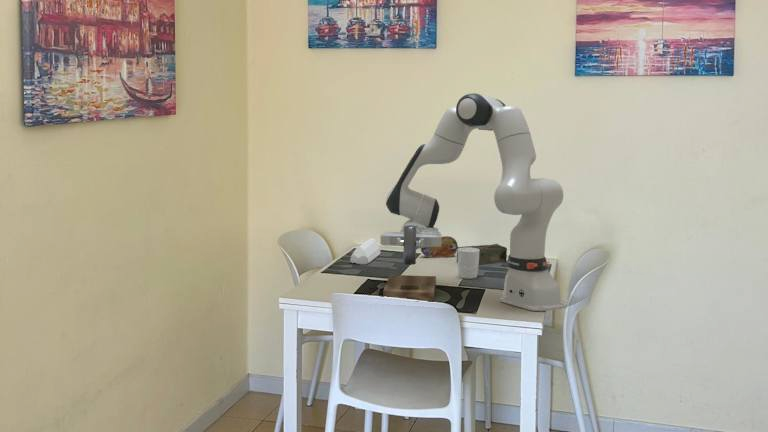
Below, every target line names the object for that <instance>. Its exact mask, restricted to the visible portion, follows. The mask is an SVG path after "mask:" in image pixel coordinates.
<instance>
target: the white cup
mask: <svg viewBox="0 0 768 432" xmlns="http://www.w3.org/2000/svg"><path fill="white" fill-rule="evenodd" d="M479 252H480V250H479V249H477V248H459V249H458V262H457V268H458V277H459V278H460V279H468V280H469V279H472V280H473V279H477V278H478V274H479V273H478V271H479V265H480V264H479Z"/></svg>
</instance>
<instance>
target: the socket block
mask: <svg viewBox="0 0 768 432" xmlns="http://www.w3.org/2000/svg"><path fill="white" fill-rule="evenodd" d="M436 286H437V276H436V275H434V276H433V275H410V274H409V275H405V274H403V275H402V274H389V276H388V279H387V281H386V283H385V285H384V288H383V291H382V292H383V293H382V297H383V296H387V297H399V298H407V299H417V300H427V301H433V302H434V299H435V293H436Z"/></svg>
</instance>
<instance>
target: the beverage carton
mask: <svg viewBox="0 0 768 432" xmlns="http://www.w3.org/2000/svg"><path fill="white" fill-rule="evenodd" d="M459 248H477V249H479V250H480V252H479V265H487V264H486V263H488V264H495V263H496V264H497V262H498V263H504V262H507V257H508V256H507V255H508V248H507V247H505V246H502V245H500V244H499V243H493V244H483V245H481V244H480V245H469V246H466V245H465V246H458V248H457V251H456V262H457V263H458V249H459Z"/></svg>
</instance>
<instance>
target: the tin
mask: <svg viewBox="0 0 768 432" xmlns="http://www.w3.org/2000/svg"><path fill="white" fill-rule="evenodd" d="M458 247H459V245H458V242H457V240H456V239H455V238H454V237H452V236H448V235H446V236H445V235H444V236H443V235H442V244H441V247H427V248H426V247H425V248H420V252H421V253H422V255H424V256H425V257H426V258H429V259H436V258H437V259H438V258H439V259H440V257H441V258H451V257H454V255H456V254H457V248H458Z"/></svg>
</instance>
